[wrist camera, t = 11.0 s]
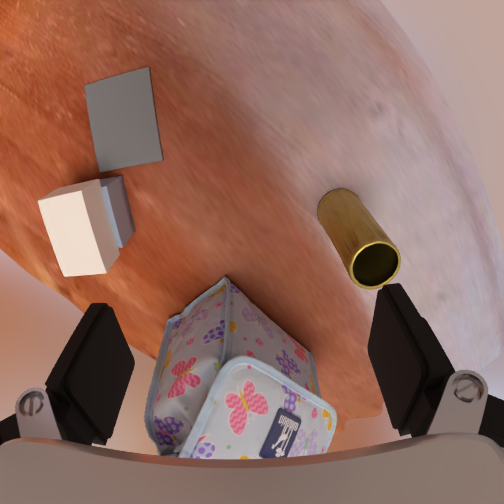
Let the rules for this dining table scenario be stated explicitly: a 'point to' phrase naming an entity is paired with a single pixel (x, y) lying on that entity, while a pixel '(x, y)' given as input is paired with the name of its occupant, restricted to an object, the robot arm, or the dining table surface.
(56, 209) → the lid
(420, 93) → the dining table surface
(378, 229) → the vase
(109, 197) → the open box
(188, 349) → the lunch bag
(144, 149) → the mat
